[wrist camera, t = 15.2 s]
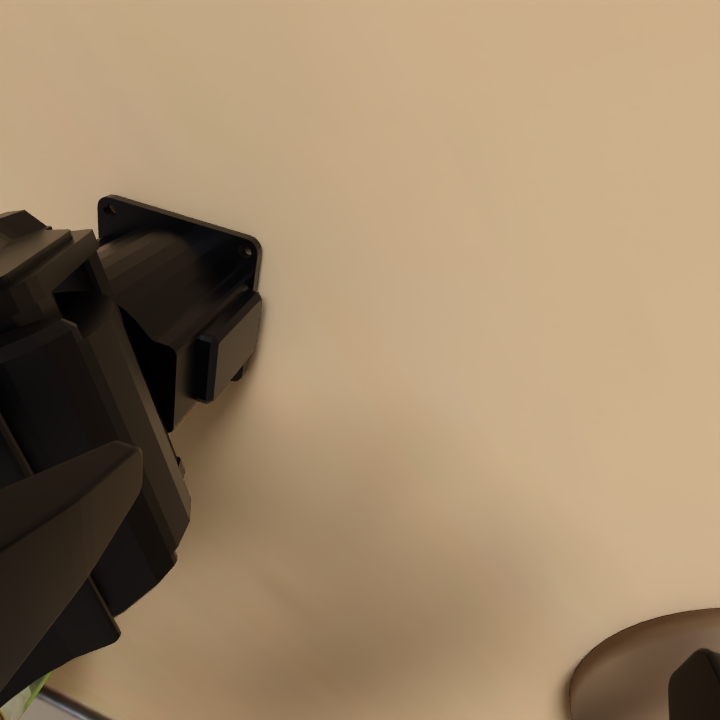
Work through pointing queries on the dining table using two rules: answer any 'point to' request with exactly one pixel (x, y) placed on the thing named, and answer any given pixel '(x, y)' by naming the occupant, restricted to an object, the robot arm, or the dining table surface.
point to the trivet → (640, 667)
